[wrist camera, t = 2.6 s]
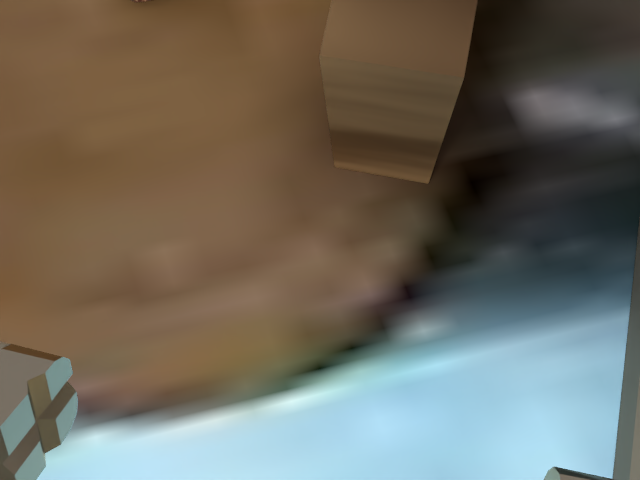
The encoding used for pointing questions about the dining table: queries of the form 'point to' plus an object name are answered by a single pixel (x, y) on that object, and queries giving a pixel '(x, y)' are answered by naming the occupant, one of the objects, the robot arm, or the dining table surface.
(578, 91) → the dining table surface
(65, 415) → the robot arm
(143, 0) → the wooden tablet
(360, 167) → the walnut pillar
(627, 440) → the stand
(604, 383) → the dining table surface
